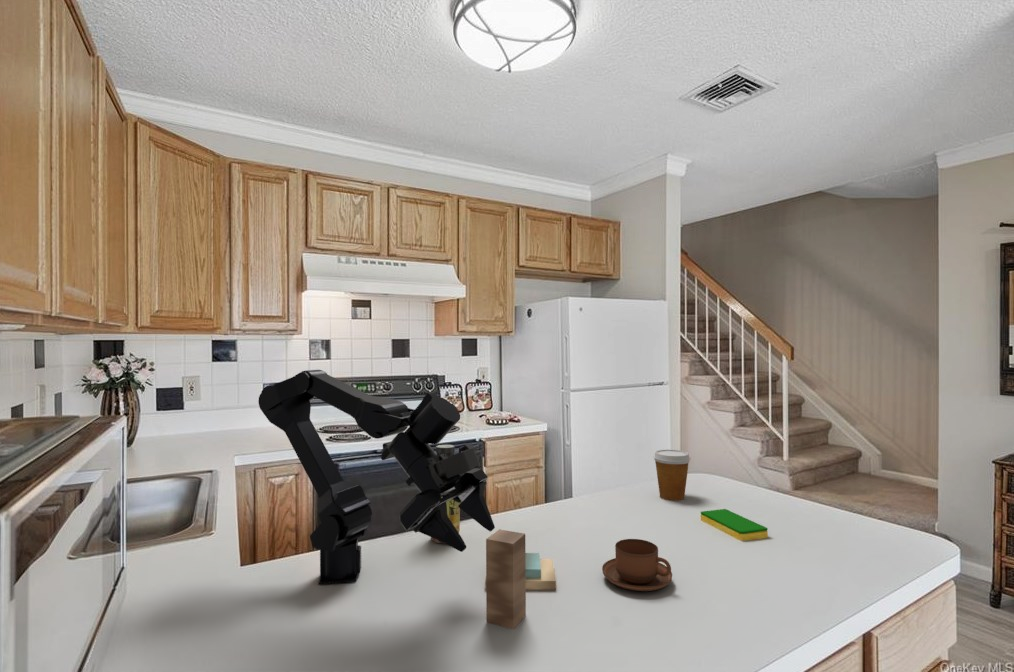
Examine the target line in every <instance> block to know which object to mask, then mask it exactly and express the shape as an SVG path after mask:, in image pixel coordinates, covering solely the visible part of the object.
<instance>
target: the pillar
mask: <svg viewBox="0 0 1014 672" xmlns="http://www.w3.org/2000/svg"><path fill="white" fill-rule="evenodd" d="M485 551H486V552H485V560H486V561H485V562H486V563H485V565H486V566H485V567H486V568H485V570H486V571H485V574H486V576H485V580H486V589H485V590H486V599H485V600H486V604H485V605H486V606H485V608H486V611H485V612H486V613H485V614H486V616H485V617H486V621H485V622H486V623H488V624H493V625H497V626H502V627H504V628H509V629H512V630H514V629H515V628H516V627H517V626H518V624H519V623H520V622H521V621H522V620H523V618H524V617H526V614H527V612H526V611H527V610H526V609H527V602H526V600H527V599H526V598H527V596H526V595H527V594H526V593H527V592H526V591H527V590H526V554H525V553H526V533H522V532H519V531H511V530H507V529H500V528H499V529H498V530H496V531H495V532H494V533H493V534H491V535H489V536H488V537H487V538H486V539H485Z"/></svg>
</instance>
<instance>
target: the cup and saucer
mask: <svg viewBox="0 0 1014 672" xmlns="http://www.w3.org/2000/svg"><path fill="white" fill-rule="evenodd" d="M614 548H615V550H614V551H615V558H612V559H609V560H607V561H605V562H604V563H603V565H602V566H601V567H602V568H601V570H602V574H603V576H604V577H605V578H606V579H607V580H608V581H609V582H610V583H612V584H613V585H615V586H617V587H620V588H622V589H625V590H630V591H634V592H635V591H637V592H652V591H656V590H660V589H663V588H665V587H666V586H667V585H669V584H670V583H671V581H672V579H673V573H672V572H673V571H672V567H671V564H670V562H669V561H668V560H667V559H665V558H663V557H660V556H659V547H658V546H657V545H656V544H655V543H653V542H651V541H650V540H649V541H648V540H645V539H640V538H639V539H638V538H625V539H621V540H619V541H617V542H616V543H615V547H614ZM663 563H664V564H663Z"/></svg>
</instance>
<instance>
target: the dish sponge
mask: <svg viewBox="0 0 1014 672" xmlns="http://www.w3.org/2000/svg"><path fill="white" fill-rule="evenodd" d="M700 521H702V522H704V523H706V524H707V525H709V526H711V527H713V528H714V529H717V530H719V531H721V532H722V533H724V534H725V535H726V534H727V535H729V536H730V537H732V538H734V539H735V540H738V541H741V542H743V541H746V542H747V541H752V540H753V541H754V540H759V539H767V538H768V537H769V536H768V535H769V534H768V533H769V532H768V527H766V526H764V525H761V524H759V523H757V522H755V521H754V520H751V519H748V518H747V517H744V516H742V515H739V514H738V513H735V512H734V511H731V510H728V509H726V508H722V509H721V508H719V509H714V510H713V509H711V510H703V511H700Z"/></svg>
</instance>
